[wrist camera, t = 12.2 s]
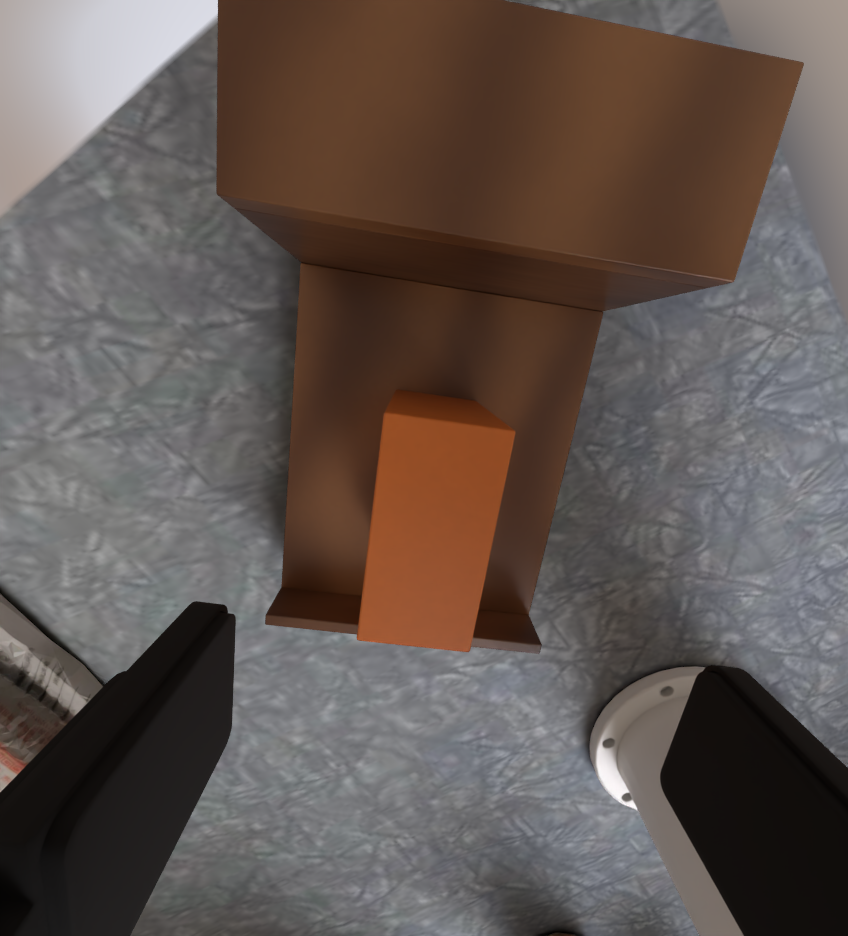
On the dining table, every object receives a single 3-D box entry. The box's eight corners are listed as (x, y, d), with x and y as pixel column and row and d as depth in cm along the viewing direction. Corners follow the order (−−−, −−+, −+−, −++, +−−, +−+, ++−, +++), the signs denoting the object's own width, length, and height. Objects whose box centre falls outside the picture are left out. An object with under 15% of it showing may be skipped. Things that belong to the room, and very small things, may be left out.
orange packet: (477, 400, 20) (516, 430, 12) (450, 548, 22) (469, 653, 14) (395, 388, 20) (383, 411, 12) (376, 539, 22) (356, 641, 14)
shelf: (603, 212, 20) (805, 61, 10) (514, 593, 26) (582, 756, 16) (323, 162, 20) (217, -61, 9) (295, 568, 25) (211, 721, 15)
